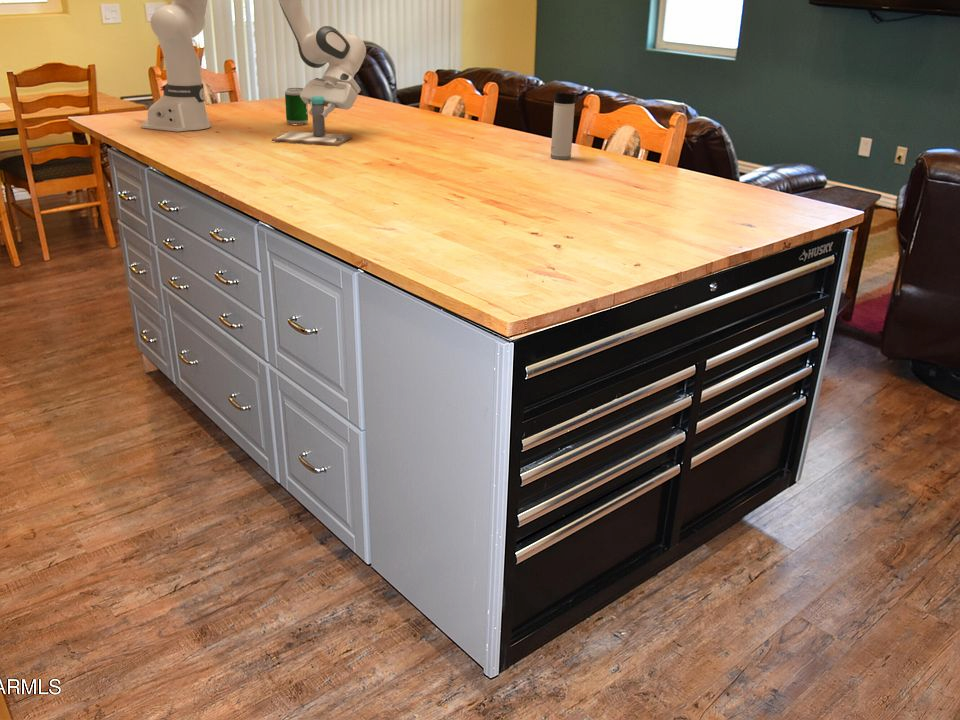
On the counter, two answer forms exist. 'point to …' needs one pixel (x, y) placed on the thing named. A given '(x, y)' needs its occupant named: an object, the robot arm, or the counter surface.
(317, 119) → the marker
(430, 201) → the counter surface
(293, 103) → the soda can
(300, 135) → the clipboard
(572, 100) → the travel mug
